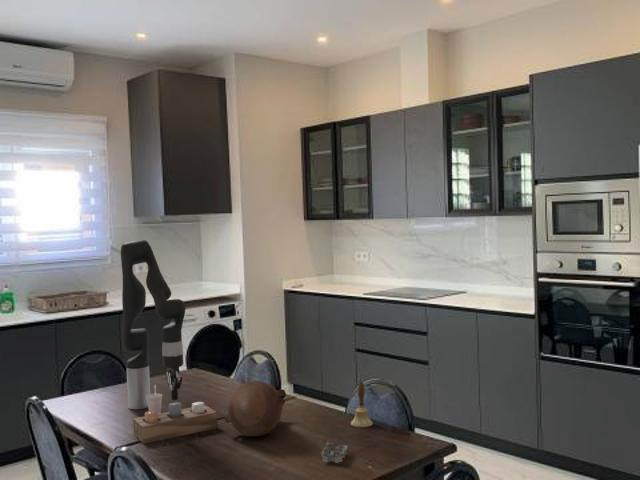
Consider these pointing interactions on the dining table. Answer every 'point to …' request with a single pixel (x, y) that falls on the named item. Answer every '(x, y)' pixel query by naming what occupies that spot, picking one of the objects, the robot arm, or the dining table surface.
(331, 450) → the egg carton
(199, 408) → the white egg
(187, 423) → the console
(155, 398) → the smoothie
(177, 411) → the grey rounded cylinder
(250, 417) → the jug
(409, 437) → the dining table surface
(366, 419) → the hand bell
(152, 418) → the brown egg
